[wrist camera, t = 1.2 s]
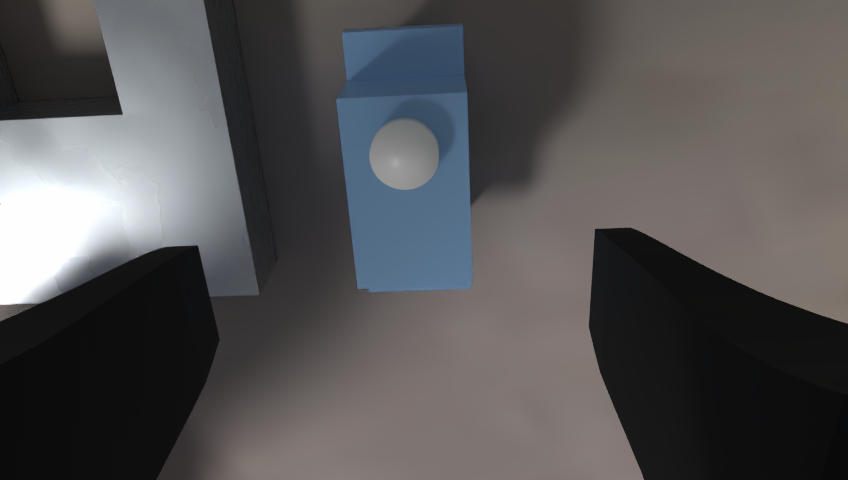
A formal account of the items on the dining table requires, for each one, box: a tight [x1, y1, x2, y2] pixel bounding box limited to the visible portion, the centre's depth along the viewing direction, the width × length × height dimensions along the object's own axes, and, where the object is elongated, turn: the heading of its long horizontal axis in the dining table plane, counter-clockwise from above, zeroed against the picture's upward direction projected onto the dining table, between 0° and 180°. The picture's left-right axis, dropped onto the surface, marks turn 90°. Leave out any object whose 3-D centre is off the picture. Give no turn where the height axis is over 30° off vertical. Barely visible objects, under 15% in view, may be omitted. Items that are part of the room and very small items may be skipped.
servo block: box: [336, 23, 472, 292], centre depth 18 cm, size 7×3×6 cm, turn 3°
